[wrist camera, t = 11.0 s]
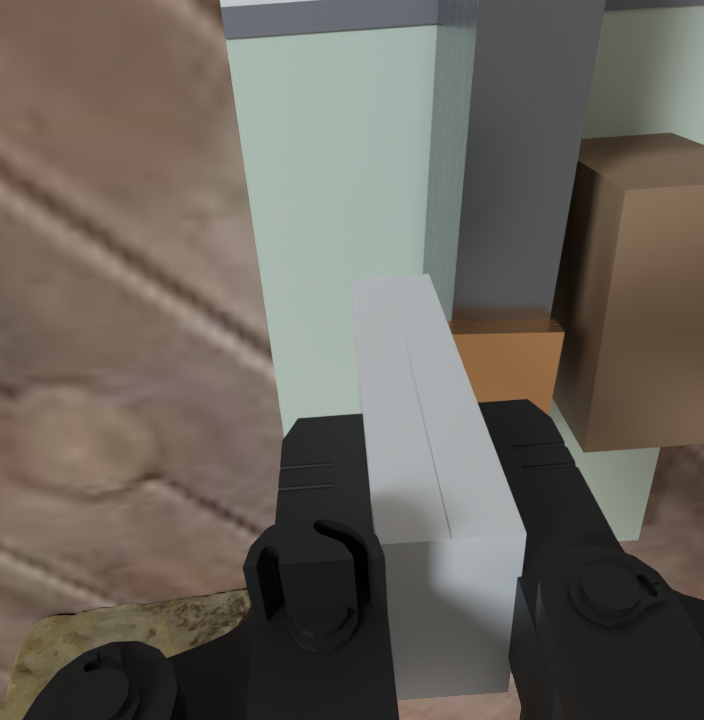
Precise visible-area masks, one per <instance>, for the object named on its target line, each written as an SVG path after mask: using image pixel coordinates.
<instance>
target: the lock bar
mask: <svg viewBox="0 0 704 720" xmlns="http://www.w3.org/2000/svg"><path fill="white" fill-rule="evenodd" d="M605 2H606V0H439V3H438V20H437V37H436V54H435V72H434V89H433V106H432V123H431V140H430V158H429V175H428V192H427V209H426V226H425V244H424V261H423V274H429V275H430V278H431V281H432V283H433V286H434V289H435V291H436V294H437V296H438V299H439V302H440V304H441V307H442V310H443V312H444V315H445V318H446V320H447V323H448V326H449V328H450V331H451V334H452V336H453V339H454V342H455V344H456V347H457V350H458V352H459V355H460V358H461V360H462V363H463V366H464V368H465V371H466V374H467V376H468V379H469V382H470V384H471V387H472V390H473V392H474V395H475V397H476V400H477V403H479V402H492V401H506V400H519V399H528V400H530V401H531V402H532V403H533V404H535V405H536V406H537V407H539V408H540V409H541V410H542V411H544V412H545V413H546V414H547V415H549V412H550V406H551V401H552V396H553V391H554V386H555V380H556V375H557V370H558V365H559V359H560V354H561V349H562V344H563V339H564V333H565V332H564V331H563V329H562V328H561V326H560V325H559V324H558V322H557V321H556V320H555V319H550V315H551V309H552V304H553V298H554V292H555V287H556V281H557V275H558V269H559V264H560V258H561V252H562V247H563V241H564V235H565V230H566V224H567V218H568V213H569V207H570V201H571V195H572V190H573V184H574V178H575V173H576V167H577V161H578V156H579V150H580V144H581V139H582V133H583V127H584V121H585V116H586V110H587V104H588V99H589V93H590V87H591V82H592V76H593V70H594V65H595V59H596V53H597V47H598V42H599V36H600V30H601V25H602V19H603V13H604V8H605Z"/></svg>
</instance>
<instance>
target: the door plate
mask: <svg viewBox="0 0 704 720" xmlns="http://www.w3.org/2000/svg"><path fill="white" fill-rule="evenodd" d="M220 3H221V13H222V20H223V26H224V33H225V39H226V44H227V51H228V58H229V64H230V71H231V78H232V85H233V92H234V98H235V105H236V112H237V119H238V126H239V132H240V139H241V146H242V153H243V160H244V166H245V173H246V180H247V187H248V194H249V200H250V207H251V214H252V221H253V228H254V234H255V241H256V248H257V255H258V262H259V268H260V275H261V282H262V289H263V296H264V302H265V309H266V316H267V323H268V330H269V336H270V343H271V350H272V357H273V364H274V370H275V377H276V384H277V391H278V397H279V404H280V411H281V418H282V425H283V431H284V438H285V436H286V435H287V433H288V432H289V430H290V429H291V428H292V426H293V425H294V423H295V422H296V420H297V419H298V418H308V417H321V416H334V415H348V414H360V405H359V393H358V379H357V364H356V349H355V335H354V320H353V305H352V291H351V280H353V279H366V278H380V277H393V276H407V275H420V274H423V261H424V244H425V226H426V209H427V192H428V175H429V158H430V140H431V123H432V106H433V89H434V72H435V54H436V37H437V20H438V3H439V0H220ZM658 133H674V134H676V135H679V136H682V137H684V138H687V139H690V140H692V141H695V142H697V143H700V144H703V145H704V0H606V2H605V8H604V13H603V19H602V25H601V30H600V36H599V42H598V47H597V53H596V59H595V65H594V70H593V76H592V82H591V87H590V93H589V99H588V104H587V110H586V116H585V121H584V127H583V133H582V139H589V138H603V137H616V136H630V135H644V134H658ZM549 416H550V417H551V418H552V419H553V421H554V423H555V425H556V427H557V428H558V430H559V432H560V434H561V436H562V438H563V440H564V442H565V447H568V449H569V451H570V453H571V455H572V456H573V458H574V460H575V465H576V467H578V468H579V469H580V471H581V473H582V475H583V477H584V479H585V481H586V483H587V484H588V486H589V488H590V490H591V492H592V494H593V496H594V497H595V499H596V501H597V503H598V505H599V507H600V509H601V510H602V512H603V514H604V516H605V518H606V520H607V522H608V523H609V525H610V527H611V529H612V531H613V533H614V535H615V537H616V538H617V540H618V542H619V541H633V540H638V539H639V535H640V531H641V526H642V522H643V518H644V514H645V510H646V506H647V501H648V497H649V493H650V489H651V485H652V480H653V476H654V472H655V468H656V464H657V459H658V455H659V451H660V447H656V448H642V449H628V450H614V451H600V452H587V453H583V451H582V449H581V447H580V446H579V444H578V442H577V440H576V439H575V437H574V435H573V433H572V432H571V430H570V428H569V426H568V425H567V423H566V421H565V419H564V418H563V416H562V414H561V412H560V411H559V409H558V407H557V405H556V404H555V402H554V400H553V398H552V401H551V406H550V412H549Z"/></svg>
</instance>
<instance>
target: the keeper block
mask: <svg viewBox="0 0 704 720" xmlns="http://www.w3.org/2000/svg"><path fill="white" fill-rule="evenodd" d="M550 319H555V320H556V321H557V322H558V324H559V325H560V326H561V328H562V329H563V331H564V332H565V333H564V339H563V344H562V349H561V354H560V359H559V365H558V370H557V375H556V380H555V386H554V391H553V396H552V398H553V400H554V402H555V404H556V405H557V407H558V409H559V411H560V412H561V414H562V416H563V418H564V419H565V421H566V423H567V425H568V426H569V428H570V430H571V432H572V433H573V435H574V437H575V439H576V440H577V442H578V444H579V446H580V447H581V449H582V451H583V453H587V452H600V451H614V450H628V449H642V448H656V447H670V446H683V445H697V444H704V145H703V144H700V143H697V142H695V141H692V140H690V139H687V138H684V137H682V136H679V135H676V134H674V133H658V134H644V135H630V136H616V137H603V138H589V139H581V144H580V150H579V156H578V161H577V167H576V173H575V178H574V184H573V190H572V195H571V201H570V207H569V213H568V218H567V224H566V230H565V235H564V241H563V247H562V252H561V258H560V264H559V269H558V275H557V281H556V287H555V292H554V298H553V304H552V309H551V315H550Z"/></svg>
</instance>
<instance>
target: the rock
mask: <svg viewBox="0 0 704 720" xmlns="http://www.w3.org/2000/svg"><path fill="white" fill-rule="evenodd" d="M252 612H253V611H252V607H251V602H250V598H249V593H248V590H236V591H229V592H226V593H224V594H213V595H210V596H199V597H189V598H179V599H174V600H172V601H169V602H157V603H152V604H146V605H143V604H138V603H135V604H126V605H121V606H117V607H109V608H98V609H96V610H91V611H87V612H81V613H78V614H76V615H55V616H50V617H46V618H43V619H40V620H38V621H36V622H34V623H33V624H32V625H31V627H30V629H29V631H28V634H27V636H26V638H25V639H24V641H23V643H22V645H21V647H20V649H19V652H18V654H17V657H16V659H15V662H14V665H13V669H12V672H11V676H10V680H9V684H8V689H7V692H6V695H5V697H4V698H3V700H2V702H1V703H0V720H22V719H23V717H24V716H25V714H26V713H27V711H28V709H29V708H30V706H31V705H32V703H33V702H34V700H35V699H36V697H37V695H38V694H39V693H40V692H41V691H42V689H43V688H44V687H45V686H46V685H47V684H48V682H49V681H50V680H51V679H52V678H53V676H54V675H55V674H56V673H57V672H58V671H59V670H60V669H61V668H63V667H64V666H65V665H67V664H68V663H70V662H71V661H73V660H74V659H75V658H77V657H78V656H80V655H81V654H82V653H84V652H86V651H88V650H91V649H94V648H97V647H99V646H102V645H105V644H107V643H110V642H118V641H140V642H143V643H145V644H148V645H150V646H153V647H155V648H158V649H160V651H161V652H162V653H163V654H164V655H165V657H166V658H168V657H171V656H173V655H176V654H179V653H181V652H184V651H186V650H189V649H192V648H194V647H197V646H200V645H202V644H205V643H207V642H210V641H212V640H214V639H216V638H218V637H220V636H222V635H224V634H226V633H228V632H230V631H232V630H233V629H234V628H236V627H237V626H238V625H239V624H241V623H242V622H243V621H245V620H246V619H247V618H248V617H249V616H250V614H251V613H252Z"/></svg>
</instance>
